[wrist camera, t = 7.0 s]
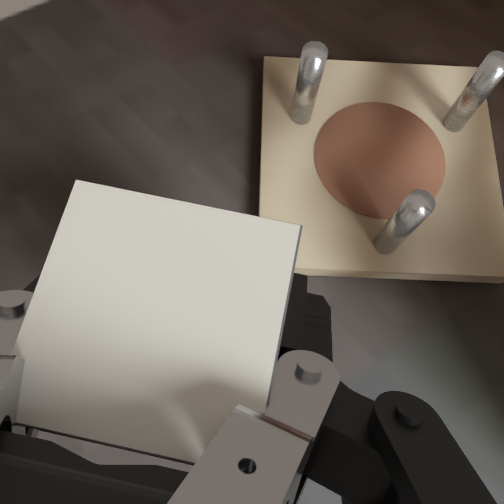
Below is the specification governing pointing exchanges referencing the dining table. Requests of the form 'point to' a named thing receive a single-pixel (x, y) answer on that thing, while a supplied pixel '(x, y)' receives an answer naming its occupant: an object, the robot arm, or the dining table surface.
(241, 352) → the block
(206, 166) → the dining table surface
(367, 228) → the pin cradle
